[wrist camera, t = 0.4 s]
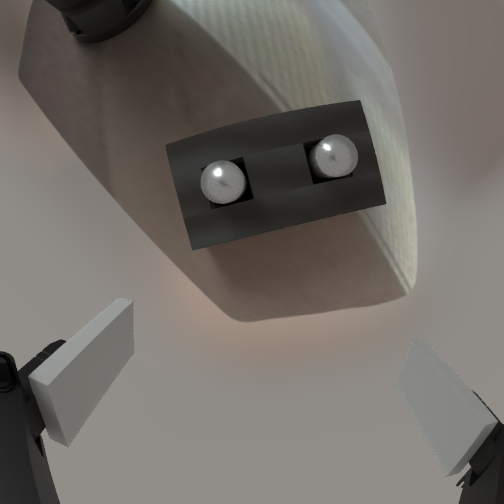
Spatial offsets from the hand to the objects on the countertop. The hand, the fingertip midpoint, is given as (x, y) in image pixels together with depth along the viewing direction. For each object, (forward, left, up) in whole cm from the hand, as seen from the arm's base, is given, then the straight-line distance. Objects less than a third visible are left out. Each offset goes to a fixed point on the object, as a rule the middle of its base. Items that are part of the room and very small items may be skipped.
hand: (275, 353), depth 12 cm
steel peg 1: (-9, -2, -22) cm, 24 cm away
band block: (-9, +3, -26) cm, 28 cm away
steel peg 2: (-9, +9, -22) cm, 25 cm away
